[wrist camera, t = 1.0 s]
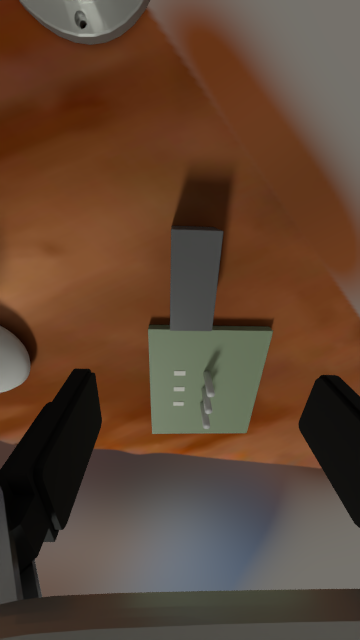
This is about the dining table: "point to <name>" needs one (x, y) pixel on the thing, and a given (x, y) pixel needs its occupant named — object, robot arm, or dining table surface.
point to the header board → (205, 377)
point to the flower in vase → (12, 361)
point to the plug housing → (194, 277)
